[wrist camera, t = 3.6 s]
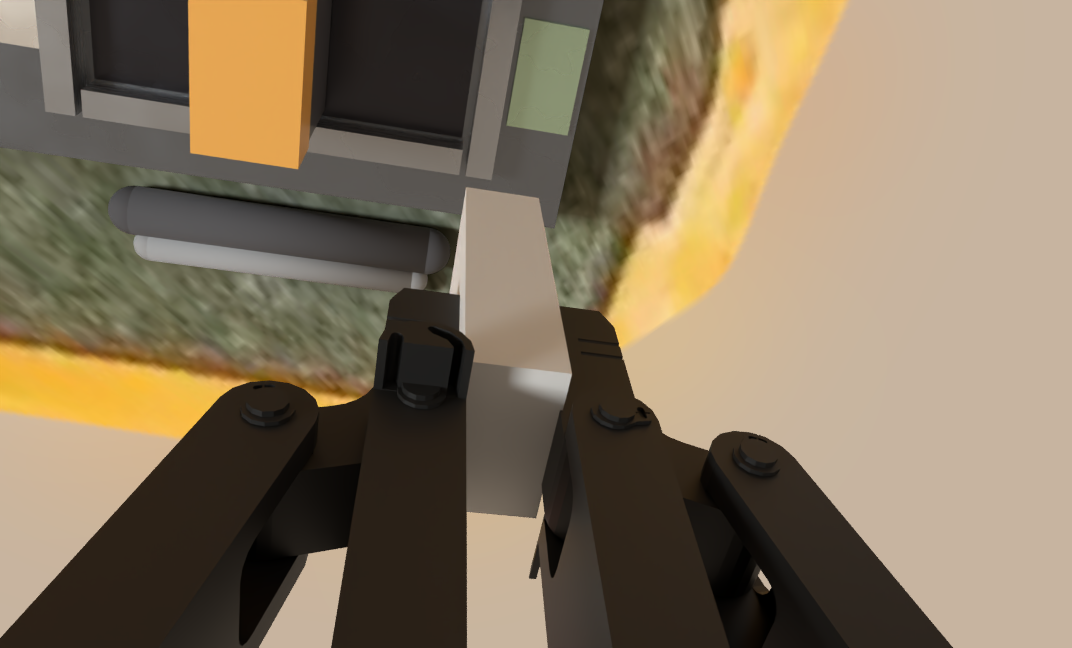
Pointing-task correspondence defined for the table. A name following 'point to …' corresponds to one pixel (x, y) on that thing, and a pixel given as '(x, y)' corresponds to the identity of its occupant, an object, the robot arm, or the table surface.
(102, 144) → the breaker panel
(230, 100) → the breaker lever
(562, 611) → the robot arm
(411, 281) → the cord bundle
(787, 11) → the table surface
